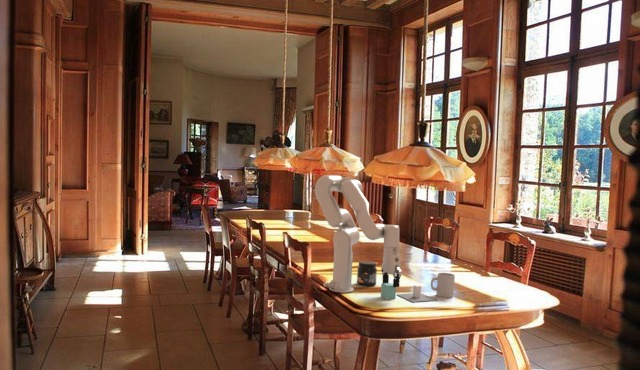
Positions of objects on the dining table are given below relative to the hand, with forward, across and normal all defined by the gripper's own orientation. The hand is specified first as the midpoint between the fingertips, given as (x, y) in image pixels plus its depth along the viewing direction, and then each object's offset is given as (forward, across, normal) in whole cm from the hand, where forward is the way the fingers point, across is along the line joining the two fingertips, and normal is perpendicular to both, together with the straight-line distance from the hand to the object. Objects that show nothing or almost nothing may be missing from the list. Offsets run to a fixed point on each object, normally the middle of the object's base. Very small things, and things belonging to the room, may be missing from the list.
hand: (390, 285), depth 262 cm
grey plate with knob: (+7, -3, -13) cm, 15 cm away
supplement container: (+6, +28, -2) cm, 29 cm away
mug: (+7, -2, -29) cm, 30 cm away
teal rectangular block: (+6, +1, +1) cm, 6 cm away
